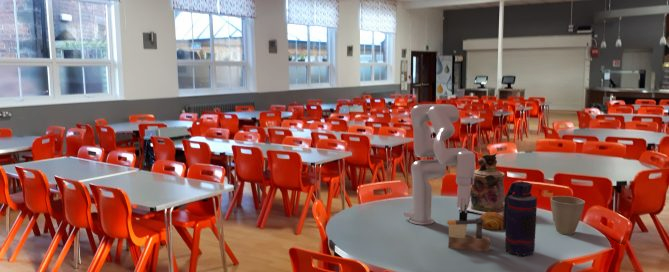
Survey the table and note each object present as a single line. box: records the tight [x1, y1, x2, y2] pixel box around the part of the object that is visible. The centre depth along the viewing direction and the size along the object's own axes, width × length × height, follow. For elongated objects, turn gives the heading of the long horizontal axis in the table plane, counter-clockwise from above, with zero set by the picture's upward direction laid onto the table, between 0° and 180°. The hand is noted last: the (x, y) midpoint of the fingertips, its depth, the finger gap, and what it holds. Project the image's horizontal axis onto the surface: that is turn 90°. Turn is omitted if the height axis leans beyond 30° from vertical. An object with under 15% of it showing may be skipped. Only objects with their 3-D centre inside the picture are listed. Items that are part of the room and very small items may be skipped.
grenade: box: [503, 180, 538, 257], centre depth 223 cm, size 14×12×30 cm
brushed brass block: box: [448, 224, 468, 238], centre depth 230 cm, size 7×6×6 cm
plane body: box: [448, 224, 491, 253], centre depth 228 cm, size 17×5×11 cm, turn 71°
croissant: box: [478, 212, 504, 231], centre depth 260 cm, size 14×16×8 cm
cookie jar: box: [458, 152, 506, 215], centre depth 288 cm, size 25×25×32 cm
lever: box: [446, 217, 483, 226], centre depth 225 cm, size 16×3×2 cm, turn 98°
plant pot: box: [550, 195, 586, 236], centre depth 249 cm, size 15×15×16 cm
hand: (463, 221), depth 228 cm, fingers closed
